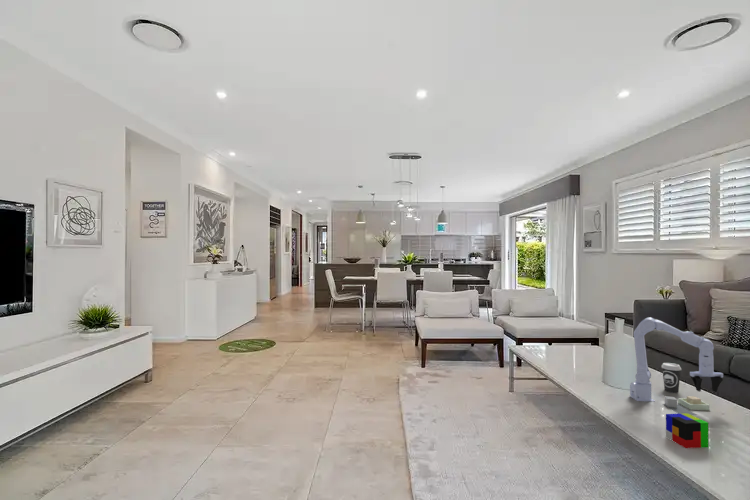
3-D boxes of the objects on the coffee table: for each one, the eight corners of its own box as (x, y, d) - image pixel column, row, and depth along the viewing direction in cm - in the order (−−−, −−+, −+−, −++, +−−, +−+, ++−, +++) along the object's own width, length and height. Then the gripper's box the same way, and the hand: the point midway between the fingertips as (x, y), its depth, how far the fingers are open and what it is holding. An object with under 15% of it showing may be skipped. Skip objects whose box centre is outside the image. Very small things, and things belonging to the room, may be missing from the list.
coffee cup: (685, 394, 231) (685, 367, 231) (666, 392, 233) (666, 366, 233) (676, 388, 240) (676, 362, 241) (658, 387, 242) (658, 362, 242)
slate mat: (679, 415, 200) (679, 414, 200) (662, 404, 214) (662, 404, 214) (697, 415, 200) (697, 415, 200) (678, 405, 214) (678, 404, 214)
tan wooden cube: (692, 408, 209) (692, 399, 209) (686, 405, 213) (686, 396, 213) (701, 408, 209) (701, 399, 209) (695, 405, 213) (694, 396, 213)
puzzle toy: (666, 437, 176) (665, 414, 176) (687, 436, 177) (687, 413, 177) (685, 448, 166) (685, 423, 166) (708, 447, 167) (708, 422, 167)
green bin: (690, 410, 207) (690, 404, 207) (678, 403, 216) (678, 398, 216) (709, 410, 206) (709, 405, 206) (696, 404, 215) (696, 398, 215)
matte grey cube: (667, 406, 211) (667, 398, 211) (664, 403, 215) (664, 396, 215) (677, 407, 209) (677, 399, 209) (674, 404, 213) (674, 397, 213)
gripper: (696, 365, 203) (696, 393, 203) (727, 366, 202) (728, 394, 201) (686, 361, 210) (687, 388, 210) (717, 362, 209) (717, 389, 208)
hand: (706, 391), depth 206 cm, fingers open, 7 cm apart
